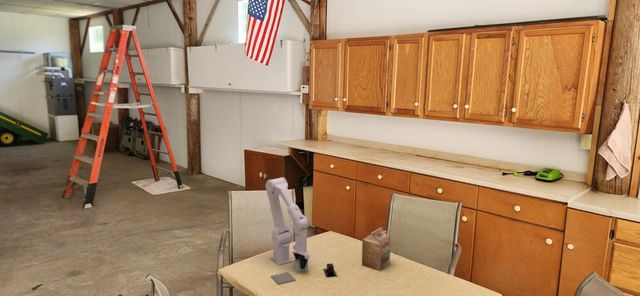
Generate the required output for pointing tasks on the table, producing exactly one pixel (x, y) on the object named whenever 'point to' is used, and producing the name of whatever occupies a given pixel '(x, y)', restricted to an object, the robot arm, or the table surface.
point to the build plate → (330, 271)
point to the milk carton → (376, 250)
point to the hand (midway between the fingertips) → (300, 266)
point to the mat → (283, 278)
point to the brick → (297, 266)
